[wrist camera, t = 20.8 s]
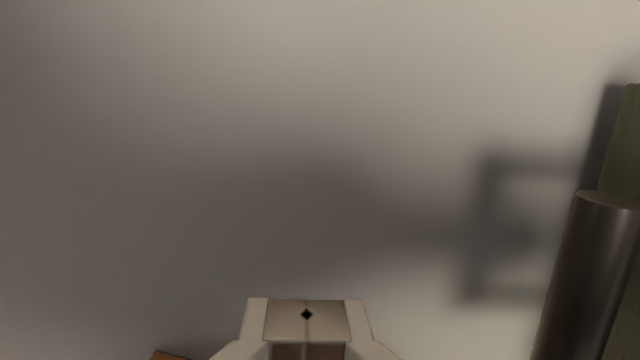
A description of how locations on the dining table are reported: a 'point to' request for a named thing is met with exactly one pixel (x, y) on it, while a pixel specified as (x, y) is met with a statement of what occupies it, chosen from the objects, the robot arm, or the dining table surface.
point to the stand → (164, 357)
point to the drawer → (600, 259)
